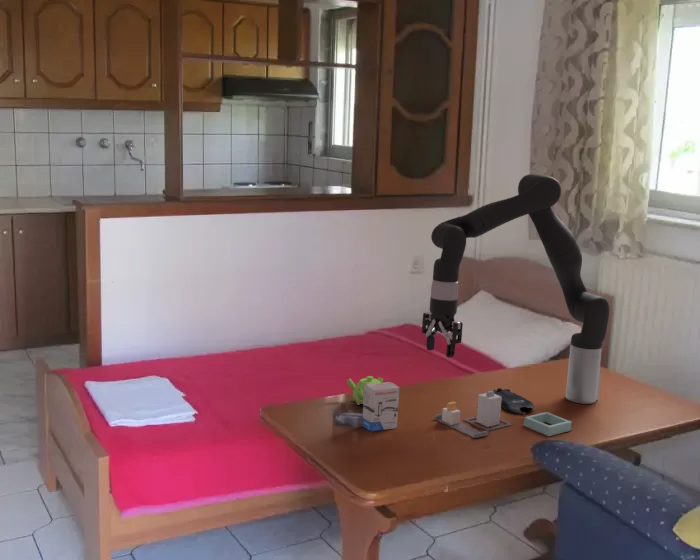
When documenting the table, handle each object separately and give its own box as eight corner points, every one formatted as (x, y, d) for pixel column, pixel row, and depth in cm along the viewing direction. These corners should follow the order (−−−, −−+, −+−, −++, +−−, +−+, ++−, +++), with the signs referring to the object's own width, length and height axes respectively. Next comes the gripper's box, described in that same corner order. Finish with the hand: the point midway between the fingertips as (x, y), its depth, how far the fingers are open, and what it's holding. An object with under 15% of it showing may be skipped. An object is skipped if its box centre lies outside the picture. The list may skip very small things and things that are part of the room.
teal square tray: (545, 420, 231) (546, 411, 230) (570, 430, 224) (571, 421, 223) (523, 425, 226) (524, 417, 225) (548, 436, 218) (549, 427, 218)
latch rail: (446, 416, 230) (446, 412, 230) (487, 436, 217) (488, 431, 216) (434, 419, 227) (434, 414, 227) (475, 439, 214) (476, 434, 214)
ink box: (370, 432, 215) (372, 390, 213) (361, 426, 220) (363, 384, 217) (397, 428, 219) (400, 386, 217) (388, 422, 224) (391, 381, 221)
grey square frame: (488, 414, 233) (488, 413, 233) (512, 425, 225) (512, 424, 225) (463, 420, 228) (463, 419, 228) (487, 431, 220) (487, 430, 220)
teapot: (392, 410, 233) (394, 382, 232) (354, 412, 230) (355, 383, 229) (381, 397, 244) (382, 370, 242) (344, 399, 241) (345, 371, 239)
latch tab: (449, 418, 227) (451, 399, 226) (459, 423, 224) (461, 404, 223) (441, 420, 226) (443, 401, 225) (451, 424, 223) (452, 405, 222)
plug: (487, 419, 230) (490, 388, 228) (499, 424, 226) (502, 392, 224) (476, 421, 227) (478, 390, 225) (487, 426, 223) (490, 395, 222)
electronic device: (484, 405, 246) (514, 415, 233) (486, 387, 246) (516, 395, 233) (508, 406, 251) (540, 415, 237) (510, 388, 251) (542, 396, 237)
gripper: (472, 300, 220) (467, 358, 223) (437, 290, 232) (432, 345, 234) (451, 302, 216) (447, 361, 219) (417, 292, 227) (413, 348, 230)
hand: (439, 353), depth 227 cm, fingers open, 7 cm apart
